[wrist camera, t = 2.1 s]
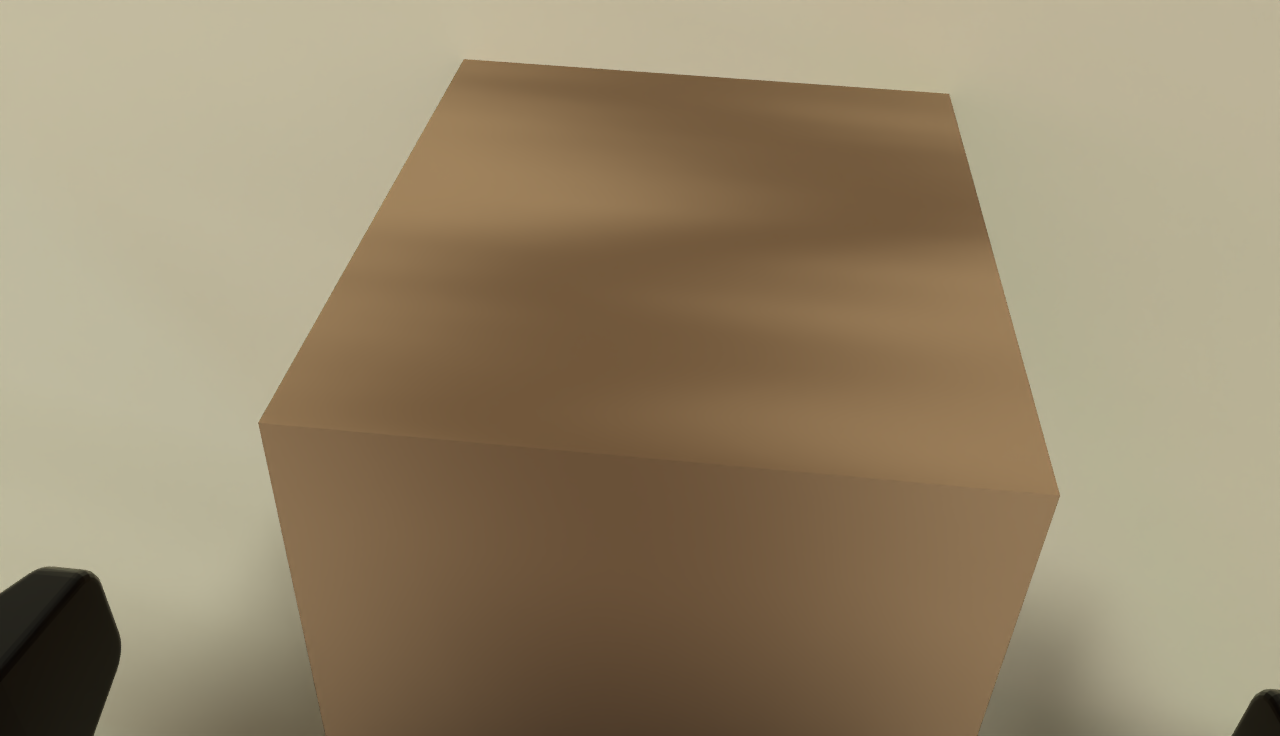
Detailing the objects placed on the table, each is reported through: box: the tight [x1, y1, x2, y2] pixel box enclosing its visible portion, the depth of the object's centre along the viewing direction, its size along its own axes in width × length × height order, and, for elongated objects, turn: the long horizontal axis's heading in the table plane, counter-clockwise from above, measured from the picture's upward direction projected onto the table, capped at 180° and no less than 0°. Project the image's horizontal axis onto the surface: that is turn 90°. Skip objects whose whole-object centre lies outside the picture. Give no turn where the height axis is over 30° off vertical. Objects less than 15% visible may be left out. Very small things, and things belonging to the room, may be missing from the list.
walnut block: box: [258, 59, 1060, 736], centre depth 11 cm, size 5×5×6 cm
